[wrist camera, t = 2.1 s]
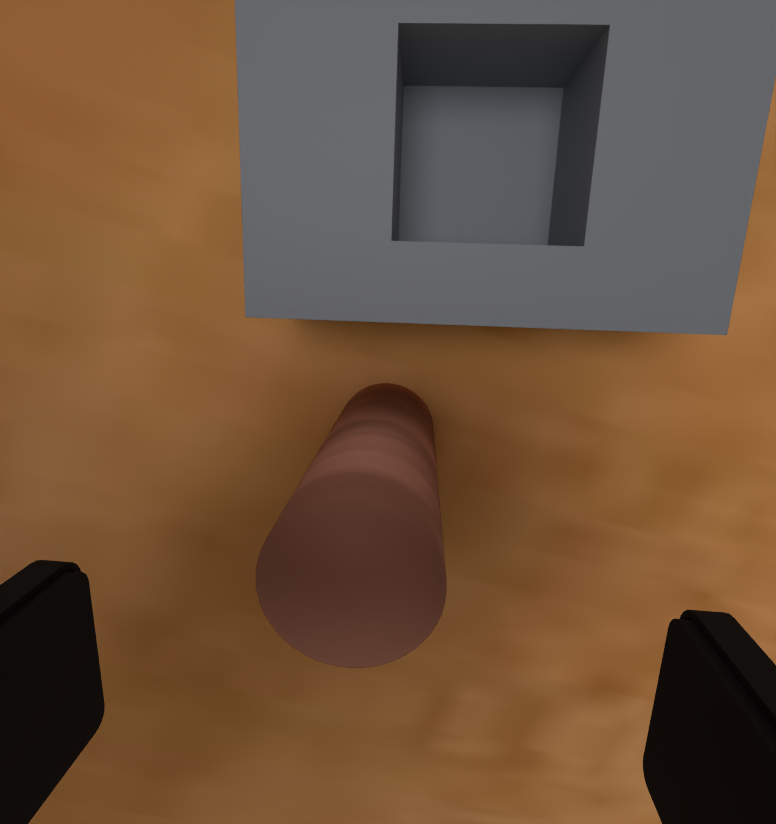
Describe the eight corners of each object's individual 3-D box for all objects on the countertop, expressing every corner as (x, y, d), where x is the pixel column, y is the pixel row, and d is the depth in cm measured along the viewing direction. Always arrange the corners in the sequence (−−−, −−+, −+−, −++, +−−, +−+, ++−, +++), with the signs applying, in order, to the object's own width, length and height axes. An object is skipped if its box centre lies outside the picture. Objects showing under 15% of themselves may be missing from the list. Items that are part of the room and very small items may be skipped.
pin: (430, 475, 23) (441, 674, 11) (339, 470, 23) (258, 661, 12) (435, 385, 22) (452, 502, 10) (340, 381, 22) (252, 491, 11)
